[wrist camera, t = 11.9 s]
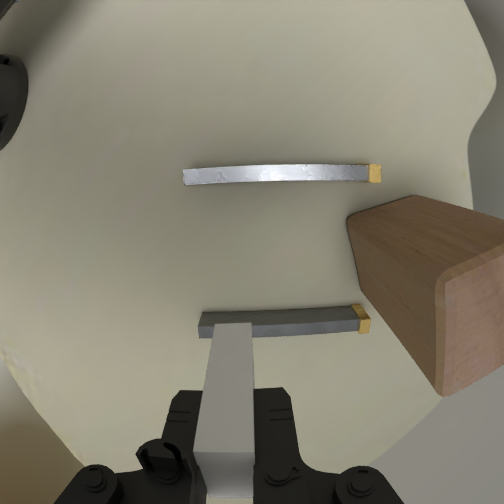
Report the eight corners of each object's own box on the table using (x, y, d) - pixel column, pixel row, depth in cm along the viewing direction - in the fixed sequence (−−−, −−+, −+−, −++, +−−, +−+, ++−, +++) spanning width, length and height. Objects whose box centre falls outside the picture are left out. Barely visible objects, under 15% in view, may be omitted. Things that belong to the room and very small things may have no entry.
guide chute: (190, 167, 32) (181, 168, 28) (366, 164, 31) (380, 164, 27) (203, 324, 37) (198, 341, 33) (358, 316, 36) (368, 332, 32)
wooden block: (417, 191, 32) (547, 229, 13) (429, 268, 35) (534, 348, 15) (342, 215, 33) (442, 281, 14) (360, 294, 36) (439, 406, 16)
